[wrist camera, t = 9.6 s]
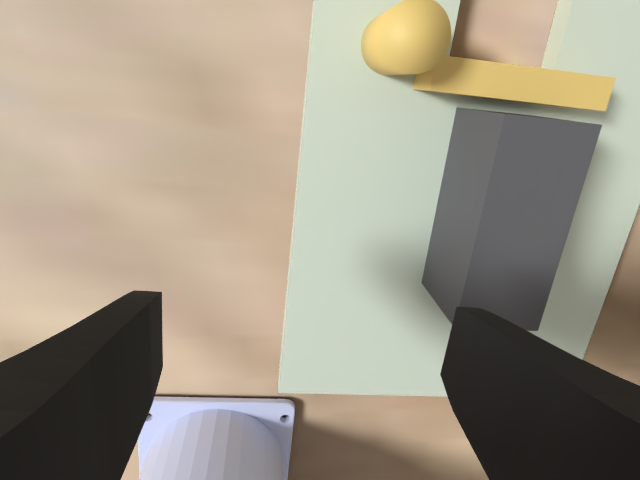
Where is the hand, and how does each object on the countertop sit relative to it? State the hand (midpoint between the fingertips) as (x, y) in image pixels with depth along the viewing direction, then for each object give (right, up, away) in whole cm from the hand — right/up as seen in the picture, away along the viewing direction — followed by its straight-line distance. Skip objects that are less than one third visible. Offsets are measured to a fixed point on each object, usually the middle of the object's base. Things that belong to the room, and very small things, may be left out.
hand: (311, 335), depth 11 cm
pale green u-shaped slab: (+7, +4, +10) cm, 13 cm away
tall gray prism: (+7, +4, +9) cm, 12 cm away
